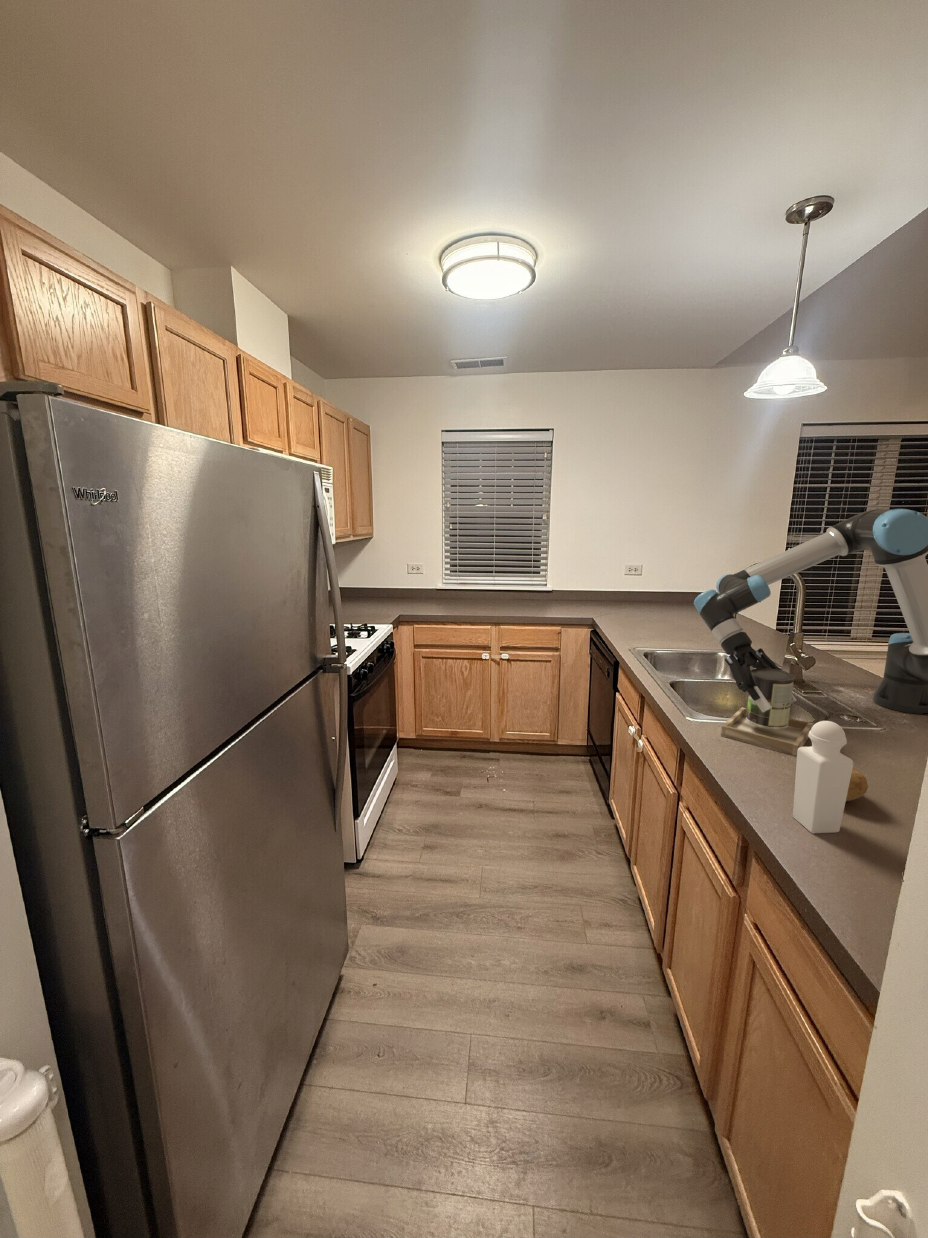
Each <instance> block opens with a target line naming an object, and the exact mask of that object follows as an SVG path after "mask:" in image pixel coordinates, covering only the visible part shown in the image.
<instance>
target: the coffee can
mask: <svg viewBox="0 0 928 1238" xmlns="http://www.w3.org/2000/svg"><path fill="white" fill-rule="evenodd" d="M750 670H751V675H752V679H753V683H754V687H755V686H757V687H758V688H759V690H760V691H761V692H762V694H763V695H764V697H765V698H766V700H767V701H768V703H769V704H770V706H771V707H772V708H771V709H769V710H767V711H765V712H763V713H762V711H761V710H760V708H759V707H758V705H757V704H756V702H755V701H754V700H753V699H752V697H751V696H750V694H749V693H748V699H747V715H746V720H747V721H748V722H749V723H751V724H753V725H755V726H758V727H761V728H766V729H774V730H779V729H785V728H787V727H788V721H789V718H790V712H791V704H792V703H791V698H792V694H793V691H794V681H795V679H796V676H795V675H794V674H792V673H791V672H787V671H784V670H782V669H781V670H777V669H769V668H757V669H756V668H753V669H750Z"/></svg>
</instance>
